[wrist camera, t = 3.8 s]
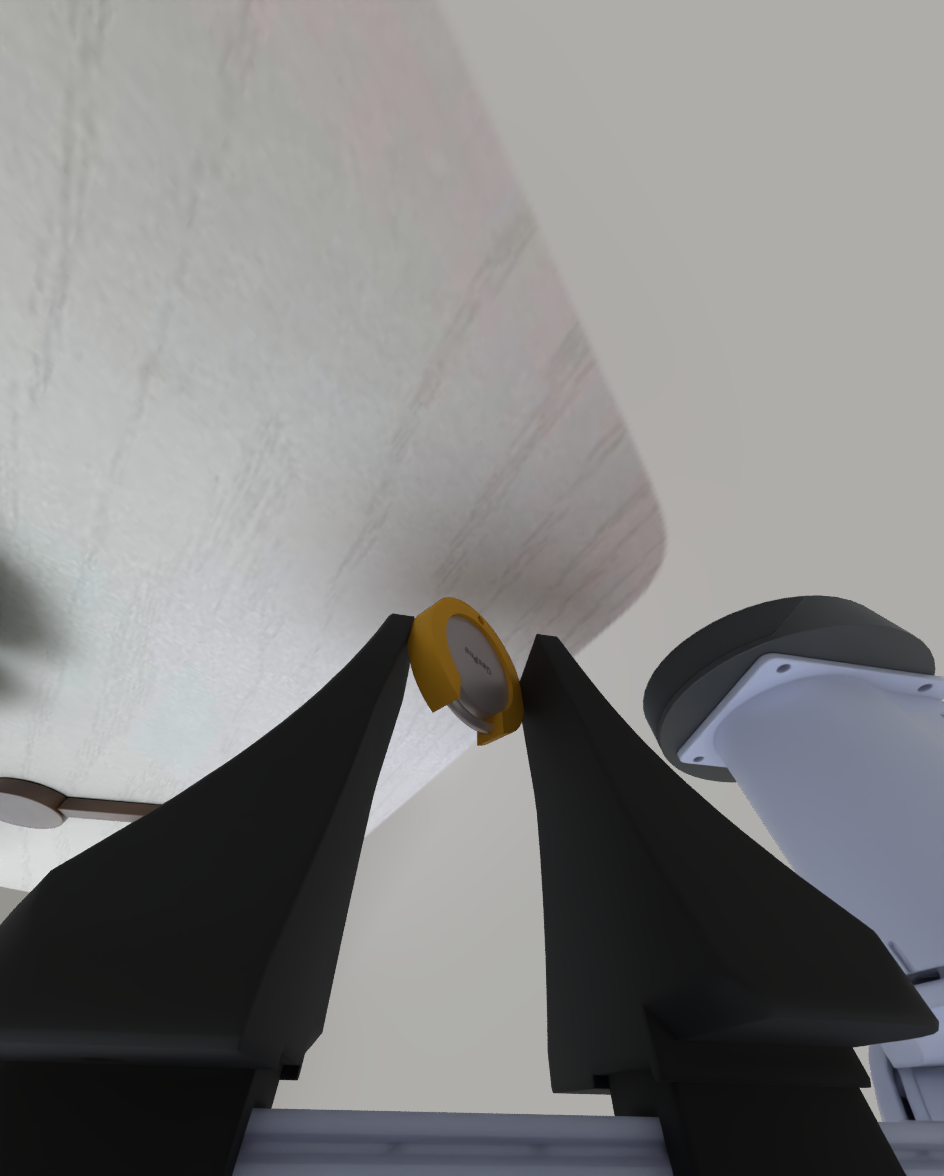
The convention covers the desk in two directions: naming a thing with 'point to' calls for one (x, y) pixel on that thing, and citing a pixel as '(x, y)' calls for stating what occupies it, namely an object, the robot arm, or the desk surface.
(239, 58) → the desk surface
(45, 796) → the spoon
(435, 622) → the tracker
